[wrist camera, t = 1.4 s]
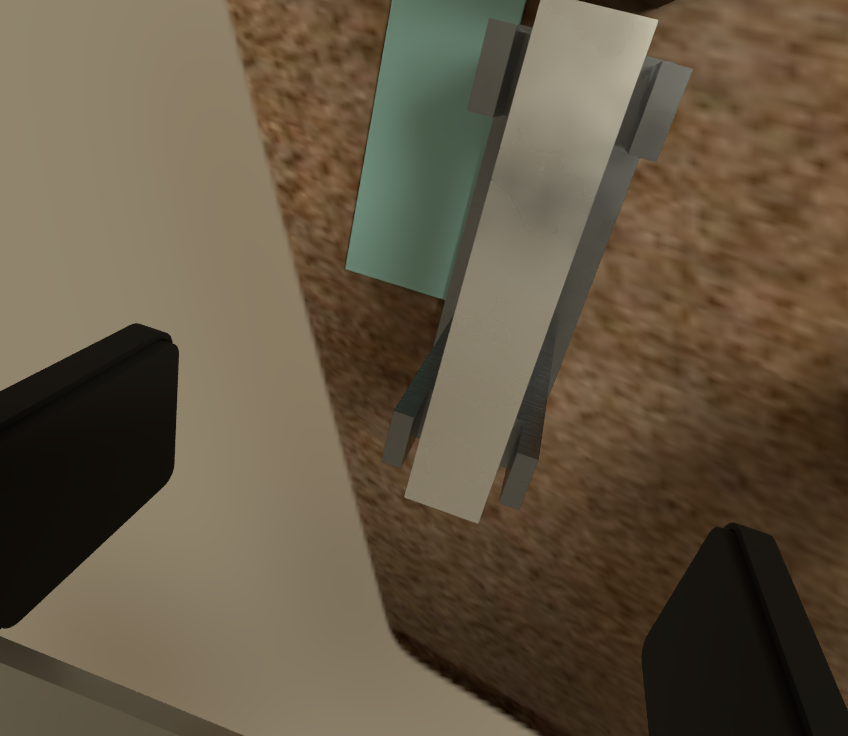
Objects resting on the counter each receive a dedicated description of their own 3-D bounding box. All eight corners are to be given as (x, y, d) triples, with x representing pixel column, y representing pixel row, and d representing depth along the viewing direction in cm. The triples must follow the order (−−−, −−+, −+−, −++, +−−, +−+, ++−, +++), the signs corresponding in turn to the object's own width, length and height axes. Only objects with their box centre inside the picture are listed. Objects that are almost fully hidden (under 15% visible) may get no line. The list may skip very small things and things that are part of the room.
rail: (648, 31, 18) (658, 20, 15) (489, 478, 25) (478, 523, 23) (549, 7, 18) (542, -8, 15) (423, 455, 26) (404, 497, 23)
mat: (552, -96, 25) (551, -98, 25) (447, 298, 33) (446, 300, 33) (416, -126, 26) (414, -129, 25) (347, 267, 34) (345, 269, 33)
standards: (673, 63, 26) (733, 41, 15) (549, 390, 34) (530, 531, 23) (520, 25, 27) (472, -22, 16) (433, 353, 35) (361, 471, 24)
